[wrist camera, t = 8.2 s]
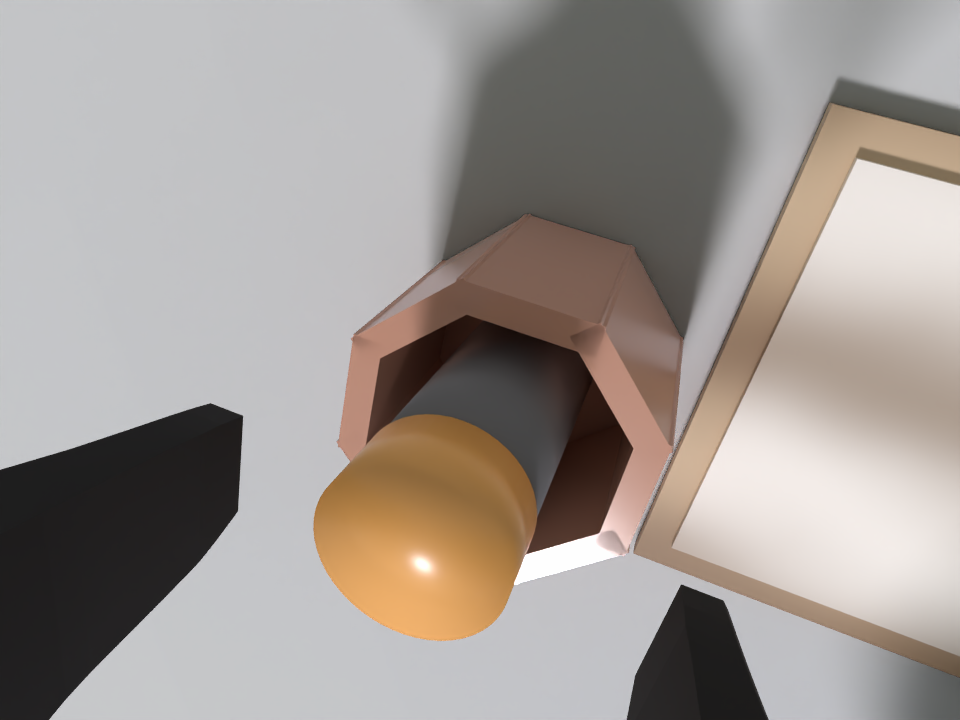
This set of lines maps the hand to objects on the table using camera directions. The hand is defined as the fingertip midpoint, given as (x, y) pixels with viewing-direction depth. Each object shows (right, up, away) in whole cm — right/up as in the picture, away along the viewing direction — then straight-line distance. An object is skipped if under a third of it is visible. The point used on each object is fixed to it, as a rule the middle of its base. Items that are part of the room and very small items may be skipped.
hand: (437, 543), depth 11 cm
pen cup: (+2, +3, +7) cm, 8 cm away
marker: (+2, +3, +6) cm, 7 cm away
